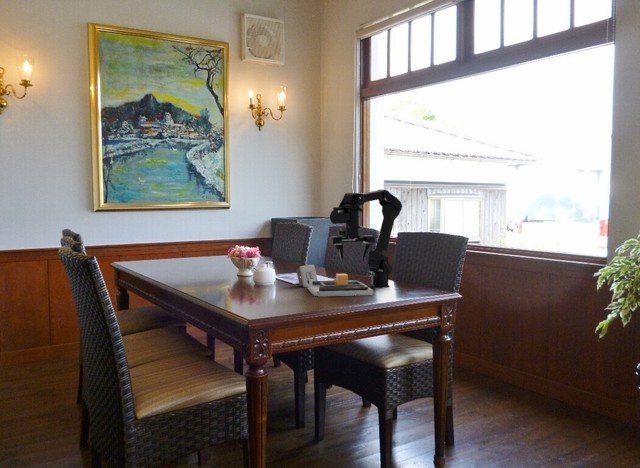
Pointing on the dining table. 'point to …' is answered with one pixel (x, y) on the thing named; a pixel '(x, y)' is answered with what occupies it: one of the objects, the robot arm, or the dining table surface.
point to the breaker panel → (339, 288)
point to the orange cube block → (341, 279)
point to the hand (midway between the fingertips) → (352, 260)
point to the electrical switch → (306, 275)
